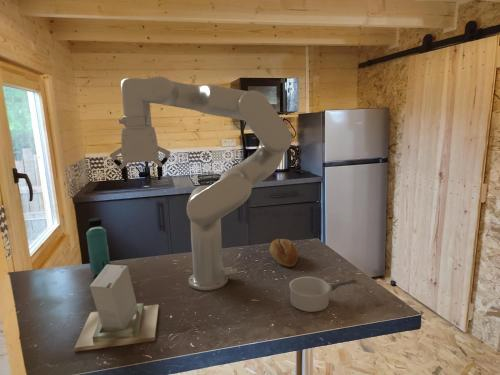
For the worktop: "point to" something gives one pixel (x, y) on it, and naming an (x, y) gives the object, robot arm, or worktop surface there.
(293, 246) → the bread roll
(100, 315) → the skincare box
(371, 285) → the worktop surface
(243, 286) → the worktop surface
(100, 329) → the nest board
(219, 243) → the robot arm
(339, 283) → the saucepan
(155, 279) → the worktop surface
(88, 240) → the beverage bottle
